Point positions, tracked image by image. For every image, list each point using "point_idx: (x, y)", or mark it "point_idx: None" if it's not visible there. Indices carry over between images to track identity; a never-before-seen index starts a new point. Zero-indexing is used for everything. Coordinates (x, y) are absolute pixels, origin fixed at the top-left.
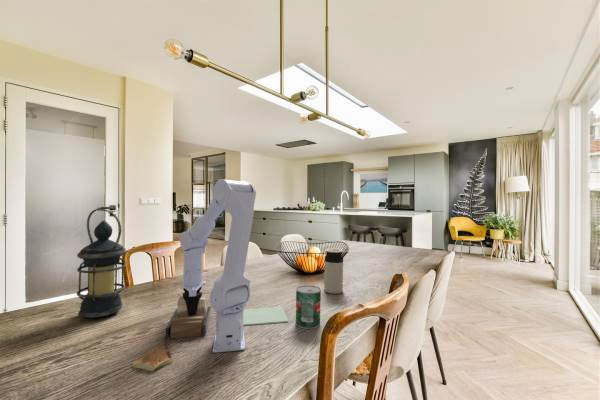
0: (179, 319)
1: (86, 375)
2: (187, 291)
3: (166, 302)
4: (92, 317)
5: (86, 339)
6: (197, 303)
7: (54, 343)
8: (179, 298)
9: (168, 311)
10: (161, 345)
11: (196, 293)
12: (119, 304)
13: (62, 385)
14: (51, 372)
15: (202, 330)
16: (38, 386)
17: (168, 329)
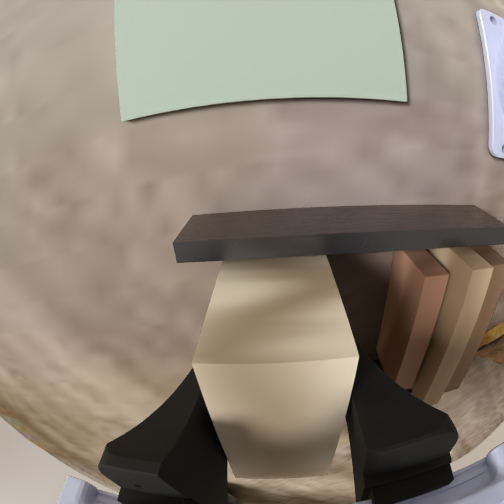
0: (450, 378)
1: (494, 410)
2: (220, 490)
3: (79, 406)
4: (238, 499)
5: (342, 477)
6: (389, 379)
7: (340, 492)
8: (279, 476)
9: (153, 403)
10: (496, 348)
11: (404, 469)
12: None
13: (498, 418)
14: (451, 450)
15: None
16: (479, 438)
17: None
